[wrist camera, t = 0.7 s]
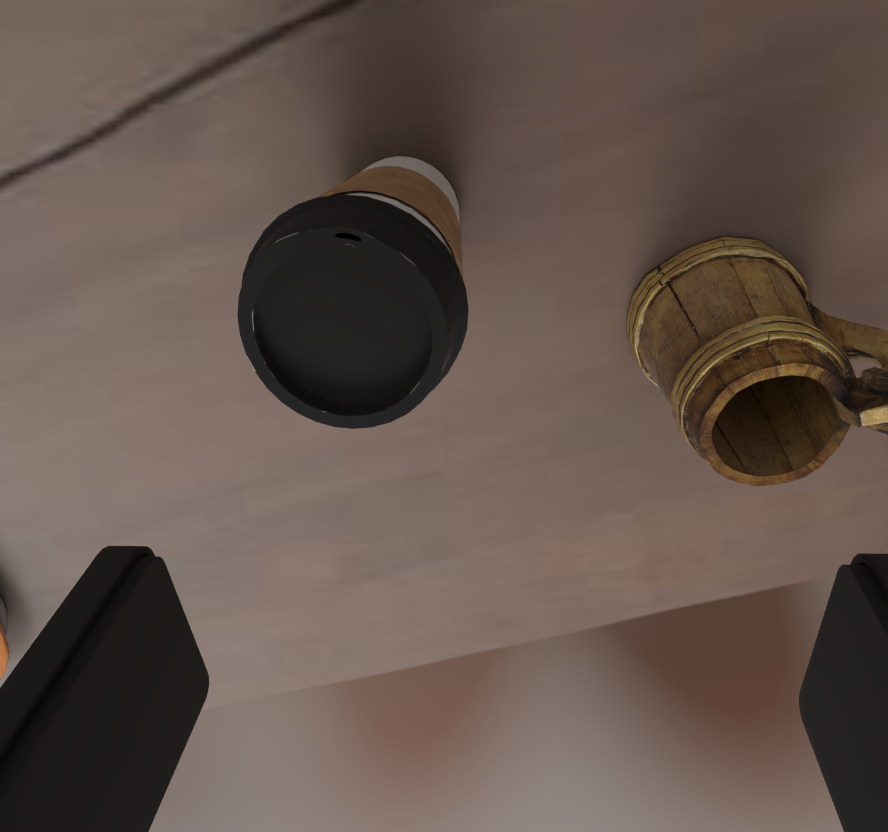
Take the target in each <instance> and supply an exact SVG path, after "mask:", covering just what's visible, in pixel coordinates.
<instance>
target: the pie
mask: <svg viewBox="0 0 888 832" xmlns="http://www.w3.org/2000/svg"><path fill="white" fill-rule="evenodd" d="M6 633H7V611H6V608H5V605H4V602H3V599H2V598H1V596H0V679H1V677H2V675H3V674H4V672H5V670H6V668H7V662H8V655H9V649H8V643H7V639H6Z"/></svg>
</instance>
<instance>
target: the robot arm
mask: <svg viewBox="0 0 888 832" xmlns="http://www.w3.org/2000/svg"><path fill="white" fill-rule="evenodd" d="M208 688H209V676H208V672H207V669H206V667H205V664H204V662H203V659H202V657H201V654H200V651H199V649H198V646H197V644H196V641H195V639H194V636H193V634H192V631H191V628H190V626H189V623H188V621H187V618H186V616H185V613H184V611H183V608H182V605H181V603H180V600H179V598H178V595H177V593H176V590H175V588H174V585H173V582H172V580H171V577H170V575H169V572H168V570H167V567H166V565H165V562H164V561H163V559H162V558H161V557H155V555H154V553H153V551H152V550H151V549H150V548H149V547H144V546H108V547H105V548H103V549H102V550H101V551H100V552H99V553H98V555H97V556H96V557H95V559H94V560H93V561H92V563H91V564H90V566H89V567H88V568H87V570H86V571H85V572H84V574H83V575H82V577H81V578H80V579H79V581H78V582H77V583H76V585H75V586H74V587H73V589H72V590H71V592H70V593H69V594H68V596H67V597H66V598H65V600H64V601H63V603H62V604H61V605H60V607H59V608H58V609H57V611H56V612H55V614H54V615H53V616H52V618H51V619H50V620H49V622H48V623H47V625H46V626H45V627H44V629H43V630H42V631H41V633H40V634H39V636H38V637H37V638H36V640H35V641H34V642H33V644H32V645H31V647H30V648H29V649H28V651H27V652H26V653H25V655H24V656H23V657H22V659H21V660H20V662H19V663H18V664H17V666H16V667H15V668H14V670H13V671H12V673H11V674H10V675H9V677H8V678H7V679H6V681H5V682H4V684H3V685H2V686H1V688H0V832H148V831H149V829H150V827H151V824H152V822H153V820H154V817H155V815H156V813H157V810H158V808H159V806H160V803H161V801H162V799H163V797H164V794H165V792H166V790H167V787H168V785H169V783H170V780H171V778H172V776H173V774H174V771H175V769H176V767H177V764H178V762H179V760H180V757H181V755H182V753H183V751H184V748H185V746H186V743H187V741H188V739H189V736H190V734H191V732H192V730H193V727H194V725H195V723H196V720H197V718H198V716H199V714H200V711H201V709H202V707H203V704H204V702H205V700H206V697H207V693H208ZM799 707H800V713H801V718H802V721H803V724H804V727H805V729H806V732H807V735H808V737H809V740H810V743H811V745H812V748H813V750H814V753H815V756H816V758H817V761H818V764H819V766H820V769H821V772H822V774H823V777H824V780H825V782H826V785H827V787H828V790H829V793H830V795H831V798H832V801H833V803H834V806H835V809H836V811H837V814H838V817H839V819H840V822H841V824H842V827H843V830H844V832H888V554H857V555H856V556H855V557H854V558H853V560H852V562H851V565H842V566H841V567H840V568H839V570H838V572H837V575H836V579H835V581H834V585H833V588H832V591H831V594H830V598H829V601H828V604H827V607H826V610H825V613H824V617H823V620H822V623H821V626H820V630H819V633H818V636H817V639H816V642H815V646H814V648H813V652H812V655H811V658H810V661H809V664H808V668H807V671H806V674H805V677H804V680H803V684H802V687H801V690H800V695H799Z"/></svg>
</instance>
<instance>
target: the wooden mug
mask: <svg viewBox="0 0 888 832" xmlns="http://www.w3.org/2000/svg"><path fill="white" fill-rule="evenodd" d="M627 338H628V342H629V345H630V349H631V353H632V355H633V356H634V358H635V359H636V361H637V362H638V364H639V366H640V367H641V369H642V370H643V372H644V373H645V375H646V376H647V378H648V379H649V380H651V381H652V382H653V383H654V384H655V385H657V386H658V387H659V389H660V390H661V392H662V393H663V394H664V396H665V397H666V399H667V400H668V402H669V403H670V404H671V406H672V414H673V417H674V419H675V422H676V424H677V427H678V429H679V431H680V432H681V434H682V435H683V437H684V438H685V439H686V441H687V442H688V444H689V445H690V446H691V447H692V448H693V449H694V450H695V451H696V452H697V453H698V454H699V455H700V456H701V457H702V458H703V459H705V460H706V461H707V462H708V463H709V464H710V465H711V466H712V468H713V469H714V470H715V471H716V472H718V473H719V474H721V475H722V476H723V477H725V478H727V479H730V480H733V481H736V482H739V483H743V484H748V485H754V486H765V485H774V484H780V483H786V482H790V481H793V480H796V479H800V478H803V477H805V476H807V475H808V474H810V473H812V472H813V471H815V470H816V469H818V468H820V467H821V466H822V465H823V464H824V463H825V461H826V460H827V459H828V458H829V457H830V456H831V455H832V453H833V452H834V451H835V450H836V449H837V448H838V447H839V446H840V444H841V442H842V440H843V439H844V437H845V435H846V433H847V431H848V430H849V427H850V425H854V426H857V427H860V426H867V427H869V428H871V429H873V430H875V431H878V432H881V433H884V434H887V435H888V331H885V330H882V329H879V328H875V327H870V326H866V325H862V324H857V323H853V322H849V321H845V320H841V319H838V318H835V317H831V316H828V315H826V314H825V313H823V312H822V311H821V310H819V309H818V308H816V307H815V306H813V305H812V301H811V297H810V294H809V291H808V288H807V285H806V283H805V281H804V279H803V278H802V277H801V275H800V274H799V272H798V271H797V270H796V268H795V267H794V266H793V265H792V264H791V263H790V262H789V261H788V260H787V259H785V258H784V257H783V256H782V255H781V254H780V253H779V252H778V251H776V250H775V249H773V248H771V247H769V246H768V245H766V244H764V243H763V242H761V241H759V240H754V239H743V238H732V237H721V238H717V239H714V240H711V241H708V242H704V243H700V244H698V245H695V246H692V247H690V248H687V249H685V250H683V251H681V252H680V253H678V254H677V255H675V256H673V257H672V258H670V259H669V260H667V261H666V262H664V263H663V264H661V265H660V266H659V267H657V268H656V269H655V270H653V271H652V272H651V273H649V274H648V275H647V276H646V277H645V279H644V280H643V282H642V283H641V285H640V286H639V288H638V289H637V290H636V292H635V293H634V295H633V296H632V300H631V304H630V308H629V312H628V316H627ZM849 359H861V360H866V361H870V362H875V363H879V364H880V365H881V366H882V368H879V367H874V368H870V369H867V370H864V371H862V376H861V378H856V376H855V373H854V370H853V368H852V365H851V363H850V361H849Z"/></svg>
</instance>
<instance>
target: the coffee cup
mask: <svg viewBox="0 0 888 832" xmlns="http://www.w3.org/2000/svg"><path fill="white" fill-rule="evenodd" d="M467 321H468V302H467V295H466V288H465V285H464V282H463V270H462V253H461V236H460V213H459V205H458V201H457V198H456V195H455V192H454V190H453V189H452V187H451V185H450V183H449V182H448V180H447V179H446V178H445V177H444V176H443V175H442V173H440V172H439V171H438V170H437V169H435V168H434V167H433V166H431V165H430V164H428V163H426V162H424V161H422V160H419V159H415V158H412V157H403V156H397V157H389V158H385V159H383V160H380V161H377V162H375V163H373V164H372V165H370V166H369V167H367V168H365V169H364V170H362V171H361V172H359V173H358V174H356V175H354V176H353V177H351V178H349V179H348V180H346V181H344V182H343V183H341V184H339V185H338V186H336V187H334V188H332V189H331V190H329V191H327V192H326V193H324V194H322V195H321V196H319V197H317V198H315V199H312V200H309V201H306V202H303V203H300V204H297V205H296V206H294V207H292V208H291V209H289V210H288V211H286V212H284V213H283V214H281V215H279V216H278V217H277V218H276V219H275V220H274V221H273V222H272V223H271V224H270V225H269V226H268V227H267V228H266V229H265V230H264V231H263V233H262V235H261V236H260V238H259V240H258V241H257V243H256V244H255V246H254V248H253V250H252V251H251V253H250V255H249V258H248V261H247V264H246V267H245V270H244V273H243V279H242V287H241V291H240V294H239V303H238V322H239V330H240V336H241V339H242V343H243V346H244V349H245V352H246V355H247V357H248V359H249V361H250V363H251V365H252V367H253V369H254V370H255V372H256V374H257V375H258V376H259V378H260V379H261V380H262V382H263V383H264V384H265V386H266V387H267V388H268V389H269V390H270V391H271V392H272V393H273V394H274V395H275V396H276V397H277V398H278V399H279V400H280V401H281V402H282V403H284V404H285V405H287V406H288V407H290V408H291V409H293V410H294V411H296V412H297V413H299V414H301V415H303V416H305V417H307V418H309V419H311V420H314V421H316V422H319V423H323V424H326V425H330V426H333V427H341V428H352V429H356V428H368V427H374V426H378V425H382V424H386V423H389V422H392V421H394V420H396V419H398V418H400V417H402V416H404V415H406V414H407V413H409V412H410V411H411V410H412V409H414V408H415V407H416V406H418V405H419V404H420V403H421V402H422V401H423V400H424V399H425V397H426V396H427V395H428V394H429V393H430V392H431V391H432V390H433V389H435V387H436V386H437V385H438V384H439V383H440V382H441V381H442V379H443V378H444V377H445V376H446V375H447V374H448V372H449V370H450V368H451V366H452V365H453V363H454V361H455V359H456V358H457V356H458V353H459V352H460V350H461V347H462V344H463V341H464V338H465V334H466V331H467Z"/></svg>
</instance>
